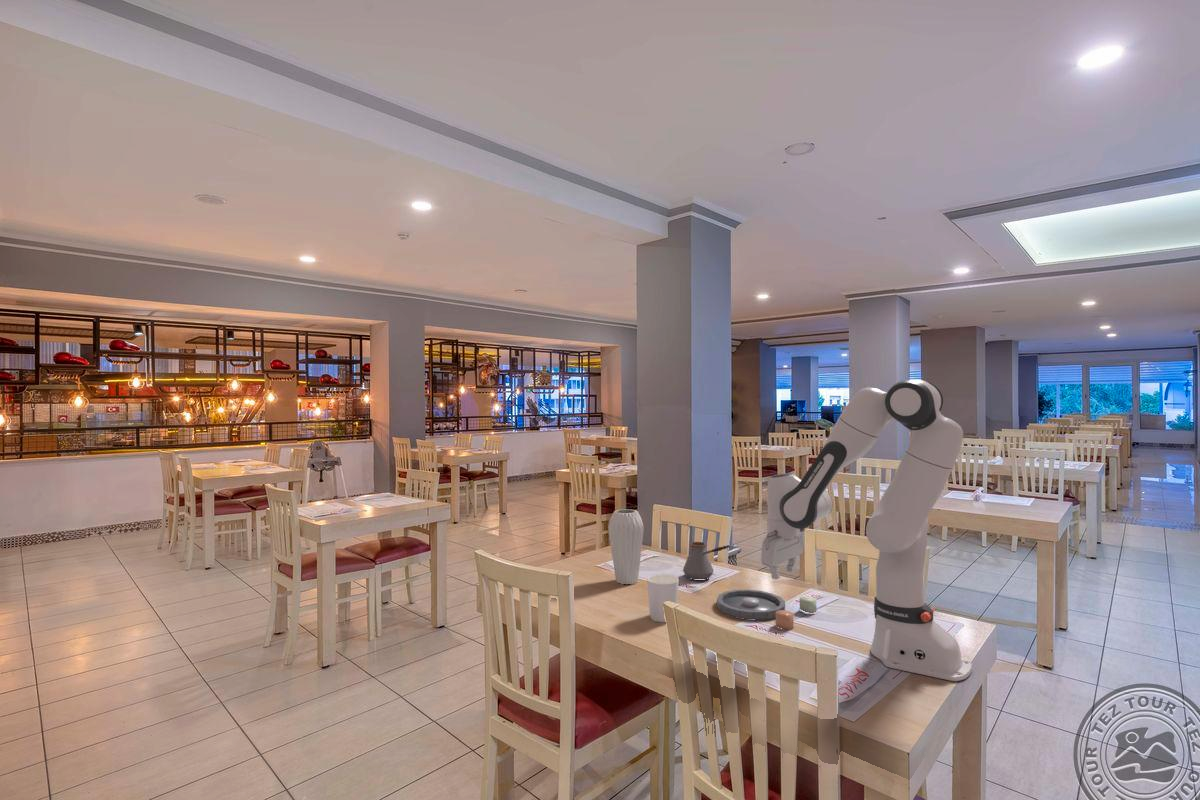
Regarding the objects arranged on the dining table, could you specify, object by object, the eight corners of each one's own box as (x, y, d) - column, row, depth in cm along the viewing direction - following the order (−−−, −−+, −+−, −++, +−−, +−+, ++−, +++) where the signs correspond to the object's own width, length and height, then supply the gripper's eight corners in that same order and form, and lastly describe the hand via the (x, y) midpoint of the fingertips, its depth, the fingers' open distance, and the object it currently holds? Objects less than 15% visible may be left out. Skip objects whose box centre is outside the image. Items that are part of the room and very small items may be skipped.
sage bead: (819, 611, 178) (819, 598, 178) (812, 616, 175) (812, 603, 175) (803, 607, 182) (803, 595, 182) (796, 612, 178) (796, 599, 178)
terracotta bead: (796, 626, 167) (796, 612, 167) (788, 631, 163) (788, 617, 163) (780, 622, 170) (780, 608, 170) (772, 627, 167) (772, 613, 167)
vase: (645, 587, 205) (644, 514, 205) (609, 587, 205) (607, 515, 205) (643, 576, 218) (642, 507, 218) (609, 576, 218) (608, 508, 219)
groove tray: (796, 606, 183) (796, 599, 183) (764, 626, 168) (764, 617, 168) (738, 592, 197) (738, 585, 197) (704, 609, 182) (704, 601, 182)
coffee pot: (676, 577, 216) (676, 537, 216) (697, 571, 223) (696, 533, 223) (720, 591, 199) (720, 548, 199) (741, 584, 206) (740, 543, 207)
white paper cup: (654, 625, 170) (653, 585, 170) (643, 613, 179) (642, 575, 179) (684, 621, 172) (684, 582, 172) (672, 610, 182) (671, 572, 182)
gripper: (775, 536, 158) (776, 585, 157) (807, 524, 172) (808, 569, 172) (755, 532, 162) (755, 580, 162) (788, 521, 177) (788, 565, 177)
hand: (783, 574), depth 167 cm, fingers open, 8 cm apart
